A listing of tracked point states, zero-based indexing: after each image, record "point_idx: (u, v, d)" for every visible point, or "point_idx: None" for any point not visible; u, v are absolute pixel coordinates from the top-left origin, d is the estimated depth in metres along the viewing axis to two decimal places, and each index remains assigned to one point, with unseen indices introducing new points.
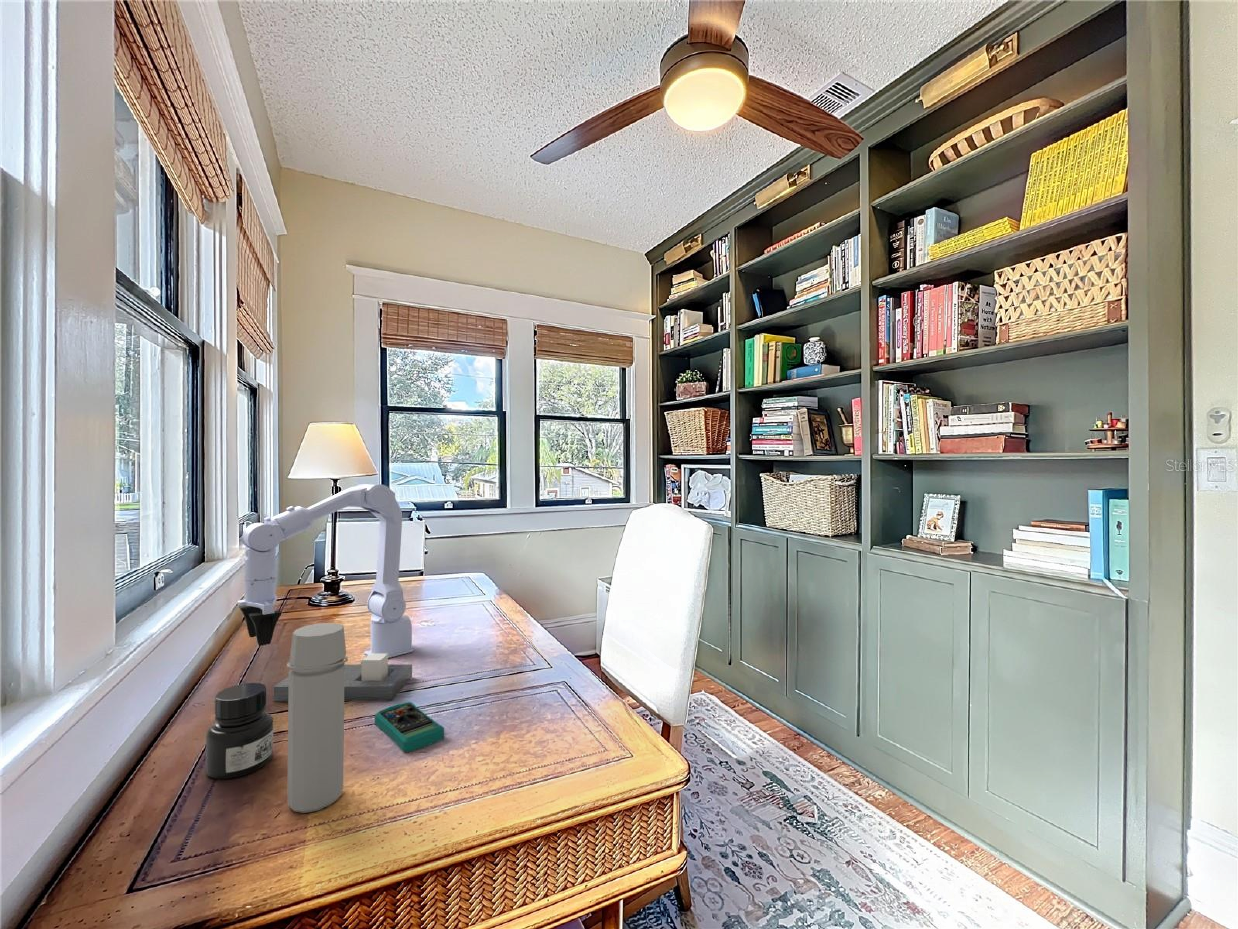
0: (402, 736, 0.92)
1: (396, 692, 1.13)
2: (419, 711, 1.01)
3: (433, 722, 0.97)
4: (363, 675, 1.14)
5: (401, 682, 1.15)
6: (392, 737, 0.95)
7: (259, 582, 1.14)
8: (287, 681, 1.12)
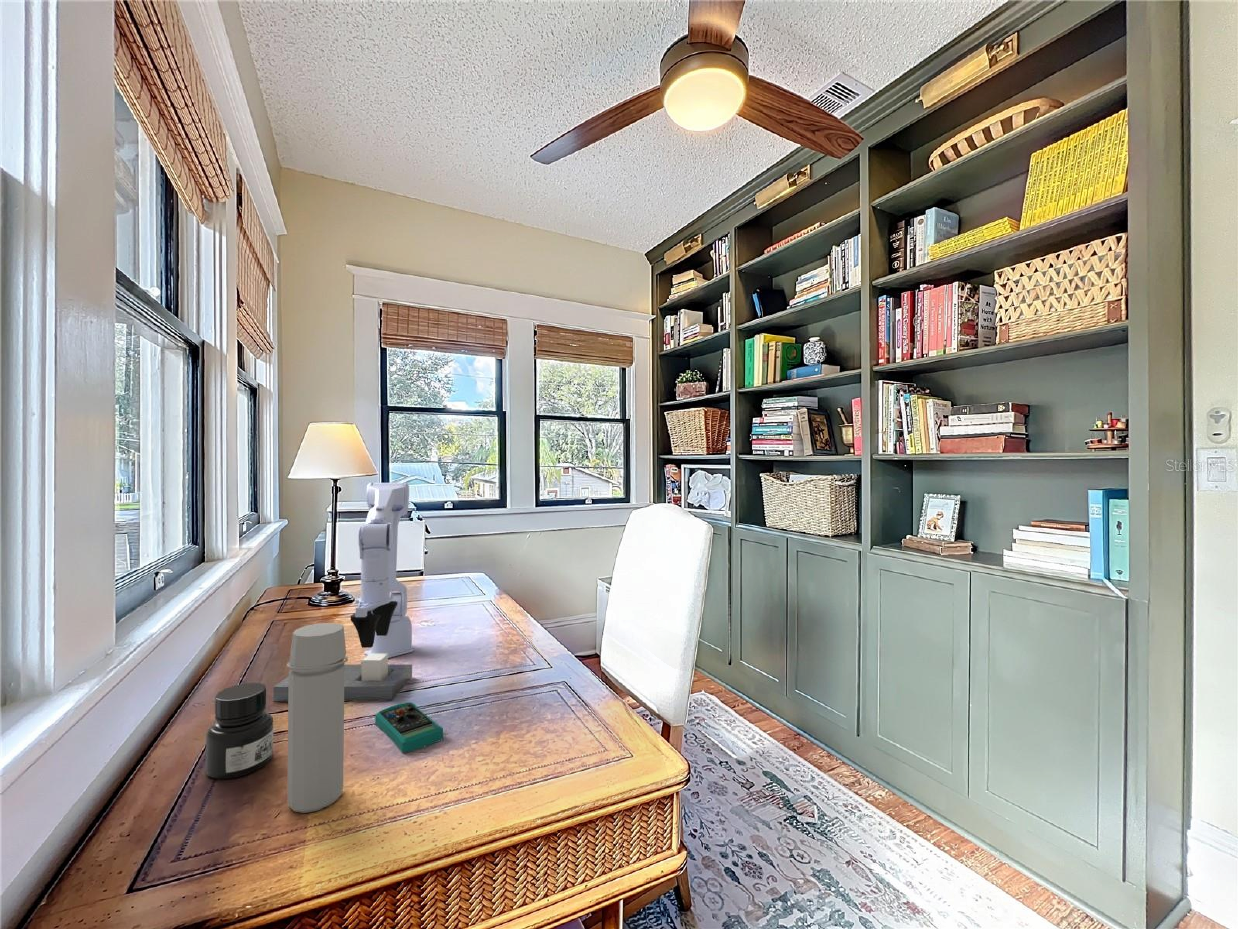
0: (401, 736, 0.92)
1: (396, 692, 1.13)
2: (419, 711, 1.01)
3: (432, 723, 0.97)
4: (363, 675, 1.14)
5: (401, 682, 1.15)
6: (391, 737, 0.95)
7: (366, 583, 1.13)
8: (287, 681, 1.12)
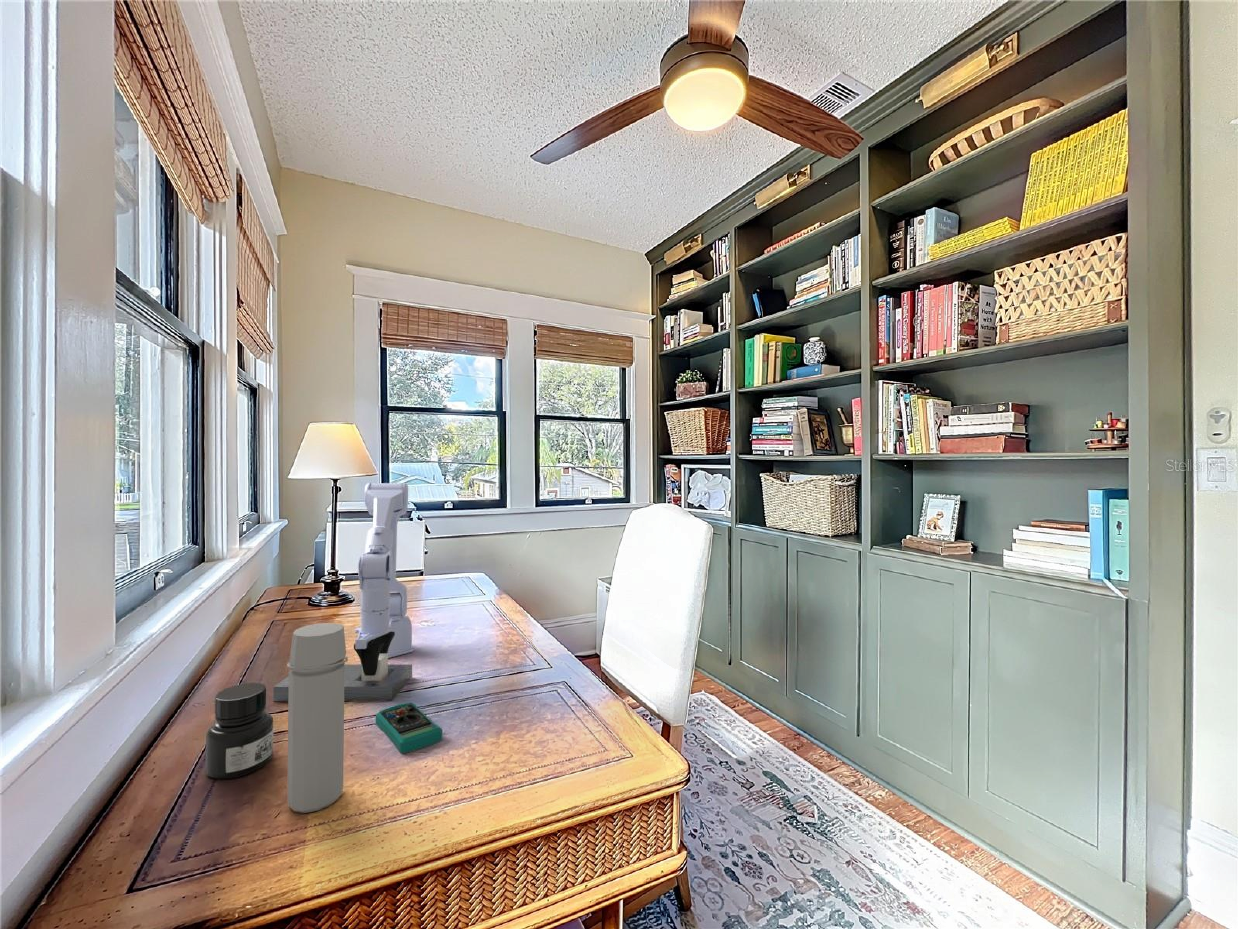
0: (399, 737, 0.92)
1: (396, 692, 1.13)
2: (419, 712, 1.01)
3: (432, 723, 0.97)
4: (363, 674, 1.14)
5: (401, 682, 1.15)
6: (391, 737, 0.95)
7: (366, 613, 1.13)
8: (287, 681, 1.12)
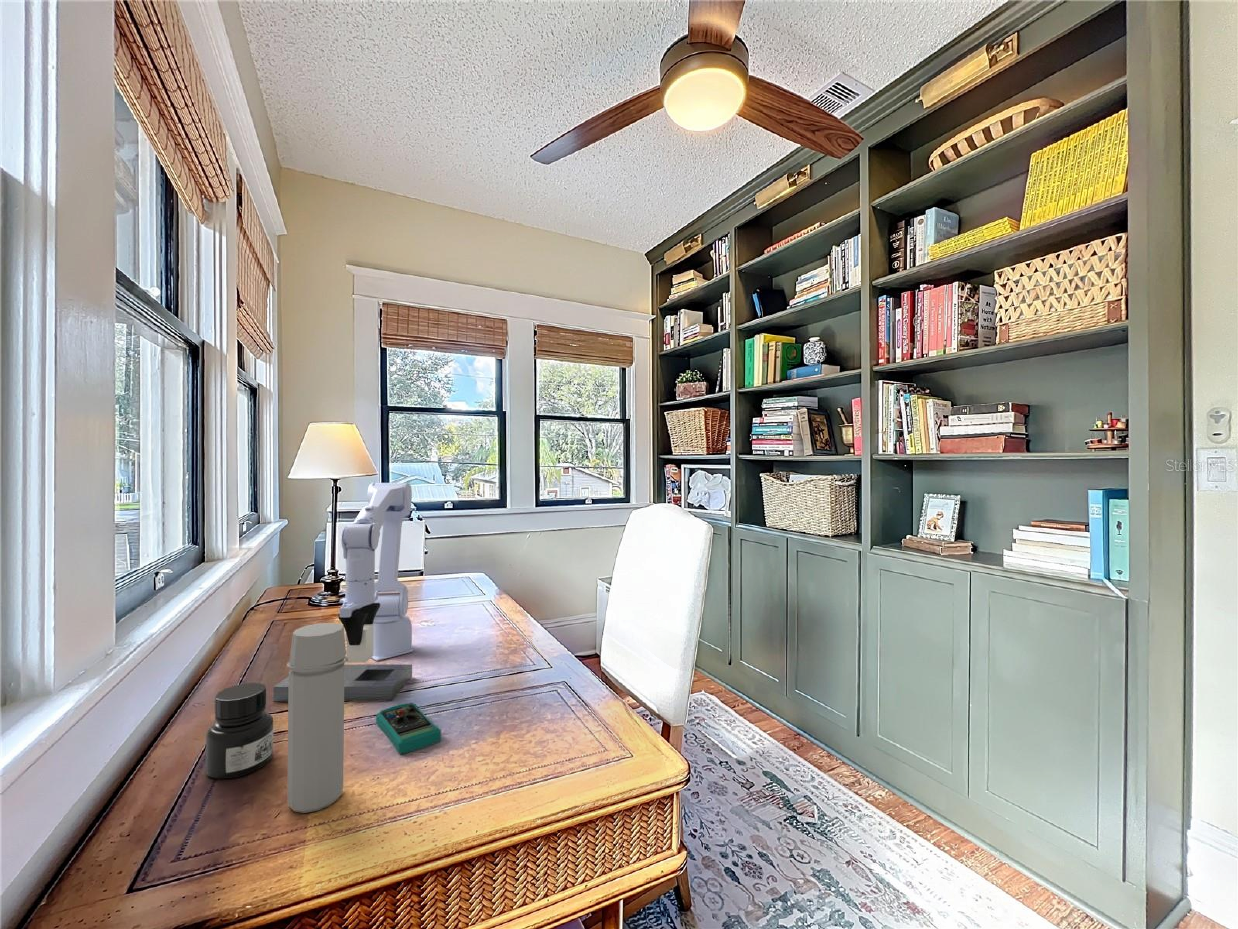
0: (398, 737, 0.92)
1: (396, 692, 1.13)
2: (419, 712, 1.01)
3: (431, 724, 0.97)
4: (348, 644, 1.14)
5: (401, 682, 1.15)
6: (390, 738, 0.94)
7: (350, 583, 1.13)
8: (287, 681, 1.12)
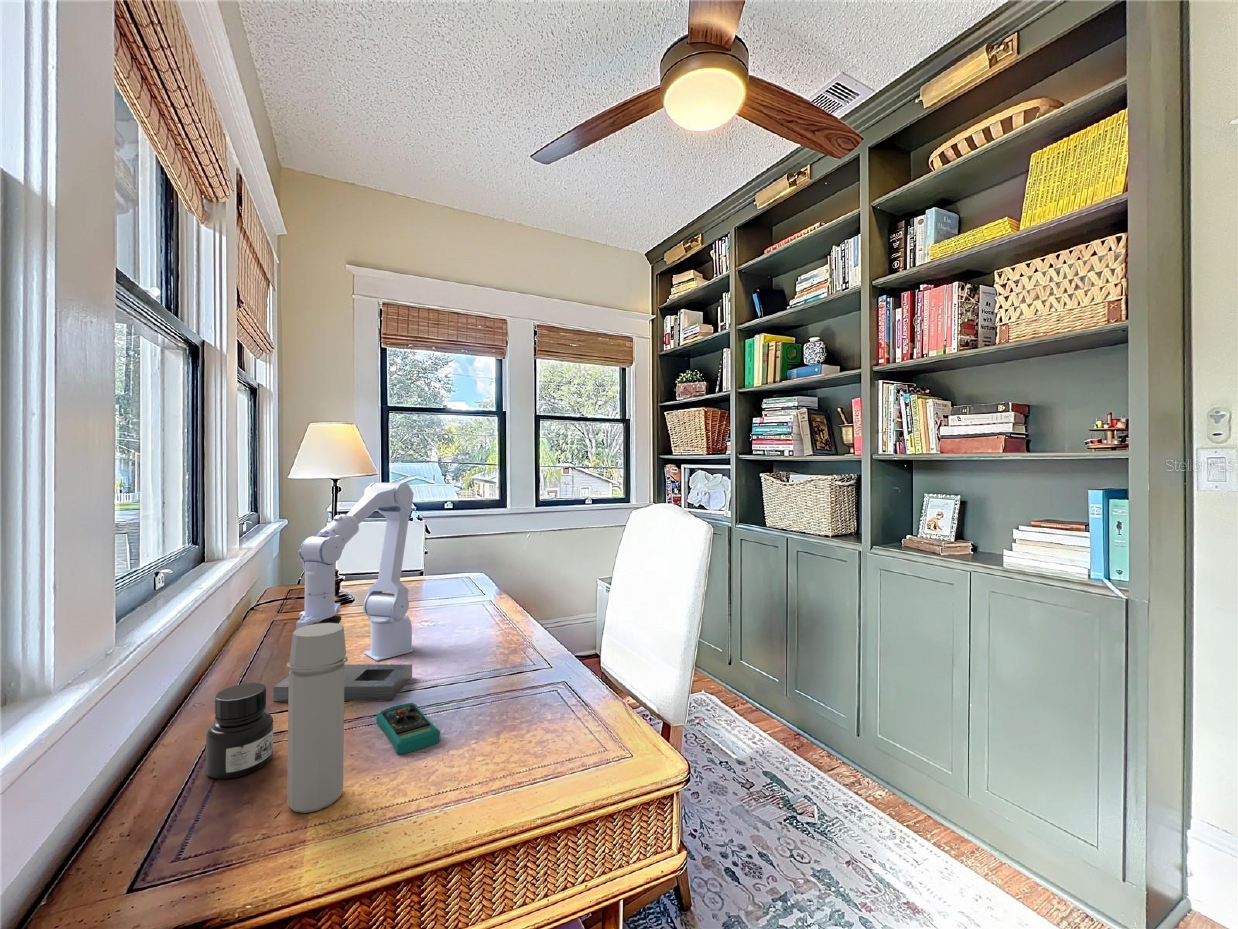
0: (397, 738, 0.91)
1: (396, 692, 1.13)
2: (419, 712, 1.01)
3: (430, 725, 0.96)
4: None
5: (401, 682, 1.15)
6: (389, 738, 0.94)
7: (309, 596, 1.13)
8: (287, 681, 1.12)
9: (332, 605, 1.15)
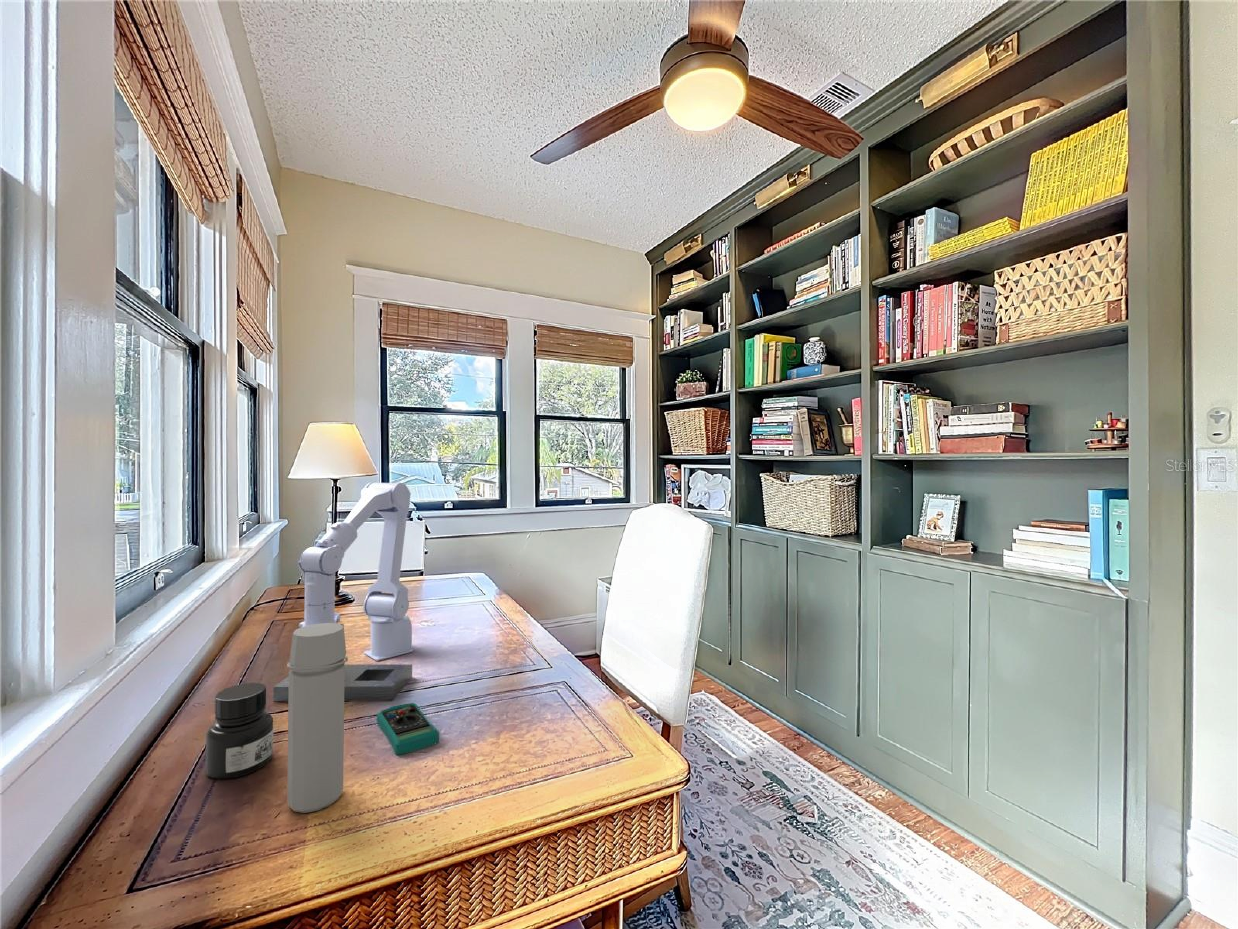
0: (396, 738, 0.91)
1: (396, 692, 1.13)
2: (419, 713, 1.01)
3: (430, 725, 0.96)
4: None
5: (401, 682, 1.15)
6: (388, 738, 0.94)
7: (309, 607, 1.13)
8: (287, 681, 1.12)
9: (332, 615, 1.15)
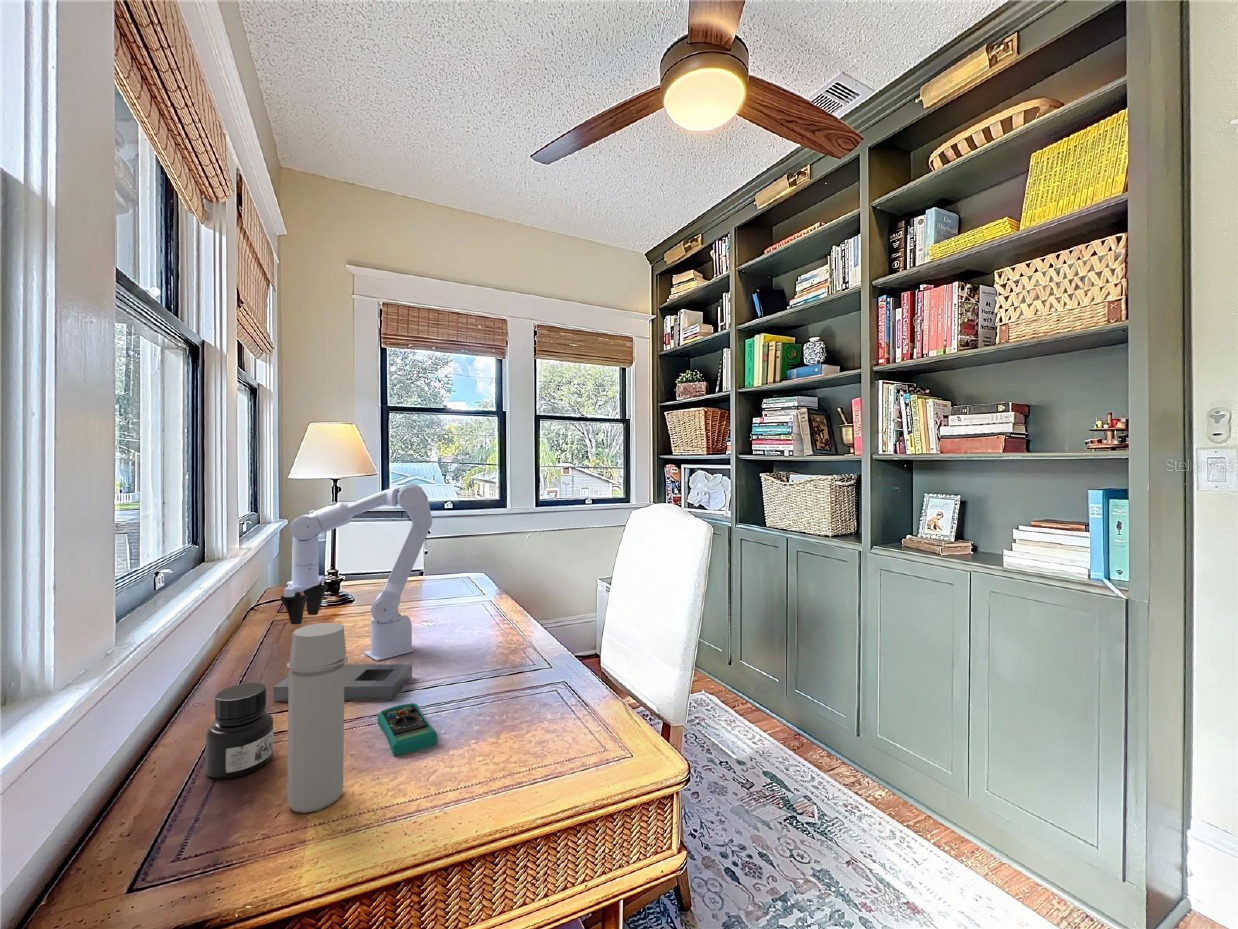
0: (393, 739, 0.91)
1: (396, 692, 1.13)
2: (419, 713, 1.00)
3: (428, 726, 0.96)
4: None
5: (401, 682, 1.15)
6: (387, 738, 0.94)
7: (296, 567, 1.28)
8: (287, 681, 1.12)
9: (316, 575, 1.31)
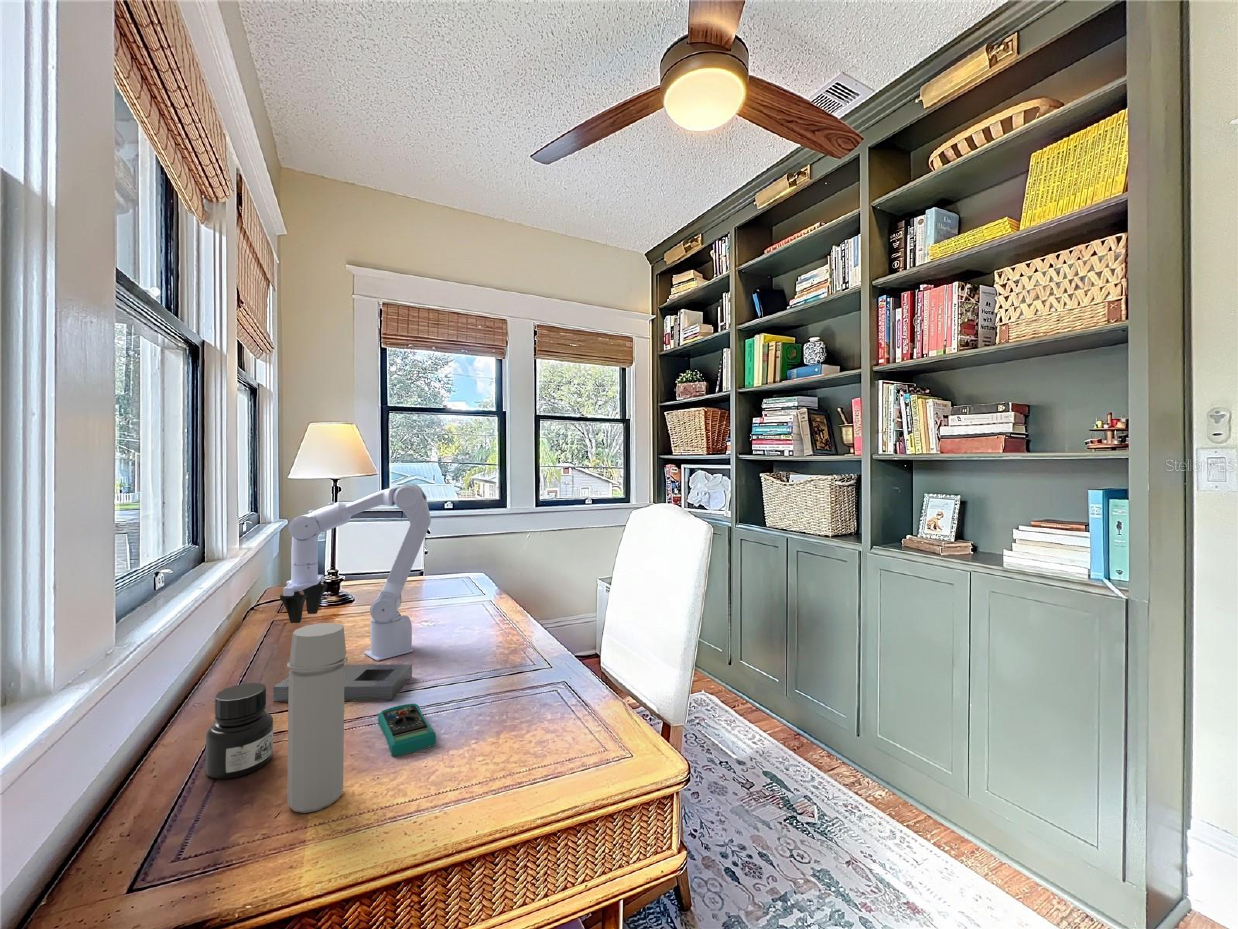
0: (392, 739, 0.91)
1: (396, 692, 1.13)
2: (419, 714, 1.00)
3: (427, 727, 0.96)
4: None
5: (401, 682, 1.15)
6: (386, 738, 0.94)
7: (295, 566, 1.29)
8: (287, 681, 1.12)
9: (315, 575, 1.32)
